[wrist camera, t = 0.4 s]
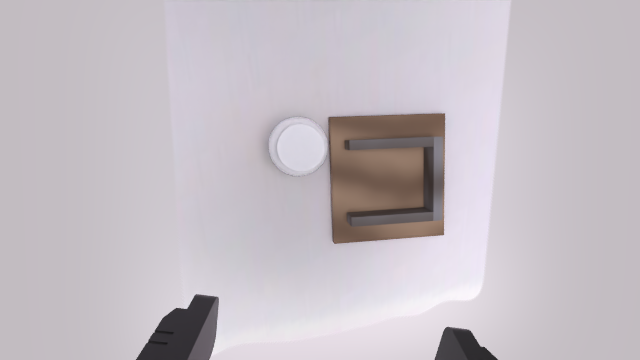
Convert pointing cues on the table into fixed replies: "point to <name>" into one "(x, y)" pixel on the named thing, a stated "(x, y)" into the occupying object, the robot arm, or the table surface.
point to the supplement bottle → (298, 146)
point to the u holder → (387, 176)
